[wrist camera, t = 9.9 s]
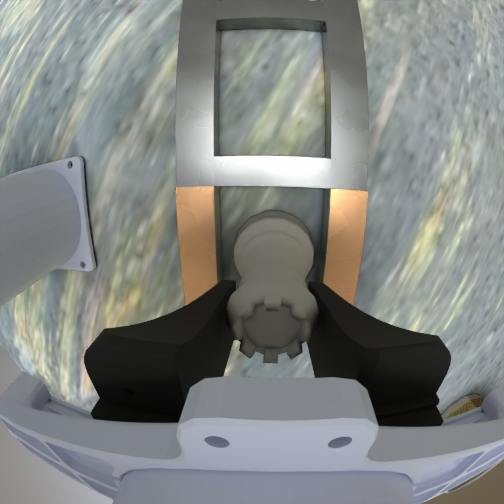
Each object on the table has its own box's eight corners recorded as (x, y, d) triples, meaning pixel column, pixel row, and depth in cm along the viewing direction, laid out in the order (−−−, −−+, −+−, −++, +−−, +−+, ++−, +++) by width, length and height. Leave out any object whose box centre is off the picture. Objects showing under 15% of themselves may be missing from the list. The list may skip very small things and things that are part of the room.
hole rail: (196, 320, 18) (189, 335, 16) (199, -61, 8) (194, -73, 7) (340, 324, 17) (346, 338, 16) (334, -60, 8) (338, -72, 6)
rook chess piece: (286, 193, 15) (297, 242, 7) (326, 257, 16) (361, 348, 8) (220, 235, 16) (173, 314, 8) (262, 293, 17) (252, 394, 10)
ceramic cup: (419, 416, 21) (446, 485, 12) (490, 369, 19) (529, 426, 9) (427, 449, 24) (444, 500, 15) (483, 414, 22) (507, 459, 13)
